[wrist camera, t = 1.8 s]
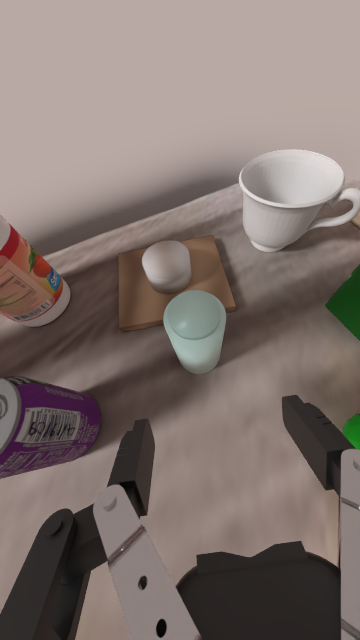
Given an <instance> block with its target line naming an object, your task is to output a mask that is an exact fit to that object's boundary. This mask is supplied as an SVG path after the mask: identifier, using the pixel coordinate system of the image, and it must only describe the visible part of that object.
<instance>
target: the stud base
mask: <svg viewBox="0 0 360 640" xmlns="http://www.w3.org/2000/svg"><path fill="white" fill-rule="evenodd" d="M189 290H201V291H205V292H207V293H210V294H212V295H213V296H215V297H216V298H218V299H219V300H220V302H221V303H222V304H223V306H224V309H225V312H226V313H229V312H234V311H235V307H236V305H235V302H234V299H233V296H232V293H231V290H230V286H229V283H228V280H227V277H226V274H225V271H224V268H223V265H222V262H221V259H220V256H219V253H218V250H217V247H216V244H215V240H214V237H213V235H209V236H204V237H199V238H194V239H189V240H184V241H180V242H177V241H173V240H166V241H161V242H158V243H155V244H153V245H152V246H150V247H149V248H145V249H140V250H135V251H130V252H125V253H120V254H119V328H120V330H121V331H122V332H127V331H132V330H138V329H143V328H148V327H154V326H159V325H164V322H163V317H164V312H165V309H166V307H167V305H168V304H169V303H170V301H171V300H172V299H174V298H175V297H176V296H177V295H179V294H181V293H183V292H185V291H189Z"/></svg>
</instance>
